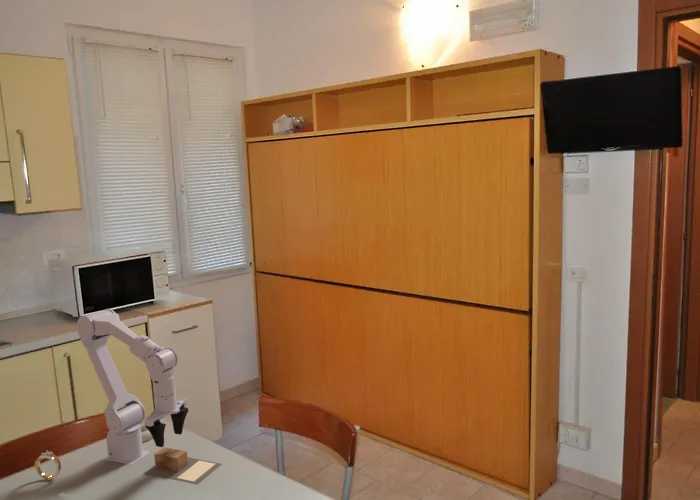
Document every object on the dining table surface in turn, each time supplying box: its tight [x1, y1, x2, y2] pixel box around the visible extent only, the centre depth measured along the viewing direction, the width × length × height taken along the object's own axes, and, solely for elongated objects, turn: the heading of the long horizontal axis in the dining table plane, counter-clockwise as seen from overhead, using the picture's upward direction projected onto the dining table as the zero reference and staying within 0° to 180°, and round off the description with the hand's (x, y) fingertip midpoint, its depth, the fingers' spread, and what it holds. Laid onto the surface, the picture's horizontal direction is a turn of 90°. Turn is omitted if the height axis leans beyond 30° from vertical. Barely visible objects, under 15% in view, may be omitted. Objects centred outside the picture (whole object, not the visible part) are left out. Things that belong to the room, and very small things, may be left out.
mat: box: [144, 456, 223, 485], centre depth 158 cm, size 18×11×1 cm, turn 67°
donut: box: [141, 423, 154, 443], centre depth 178 cm, size 10×4×10 cm
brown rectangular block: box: [153, 446, 188, 472], centre depth 159 cm, size 8×4×4 cm, turn 67°
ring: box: [34, 449, 62, 481], centre depth 156 cm, size 7×3×8 cm, turn 76°
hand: (169, 439), depth 158 cm, fingers open, 7 cm apart
